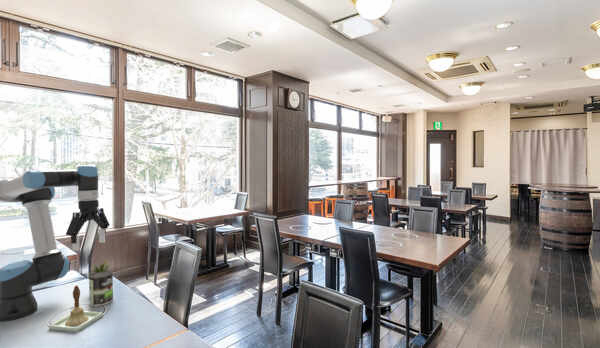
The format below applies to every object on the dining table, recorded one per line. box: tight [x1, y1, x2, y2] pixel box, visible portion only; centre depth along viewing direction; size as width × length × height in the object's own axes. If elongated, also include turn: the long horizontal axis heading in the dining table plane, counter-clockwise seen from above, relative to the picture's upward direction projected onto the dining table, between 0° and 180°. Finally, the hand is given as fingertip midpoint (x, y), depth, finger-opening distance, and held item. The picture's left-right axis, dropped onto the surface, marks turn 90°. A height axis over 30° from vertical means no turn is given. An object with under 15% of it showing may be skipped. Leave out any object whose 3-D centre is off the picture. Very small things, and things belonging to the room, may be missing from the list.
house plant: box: [84, 260, 113, 280], centre depth 168 cm, size 14×14×16 cm
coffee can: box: [88, 270, 114, 307], centre depth 155 cm, size 10×10×14 cm
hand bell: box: [65, 285, 88, 326], centre depth 134 cm, size 8×8×16 cm
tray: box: [48, 310, 104, 334], centre depth 134 cm, size 14×14×2 cm
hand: (89, 246), depth 138 cm, fingers open, 13 cm apart
